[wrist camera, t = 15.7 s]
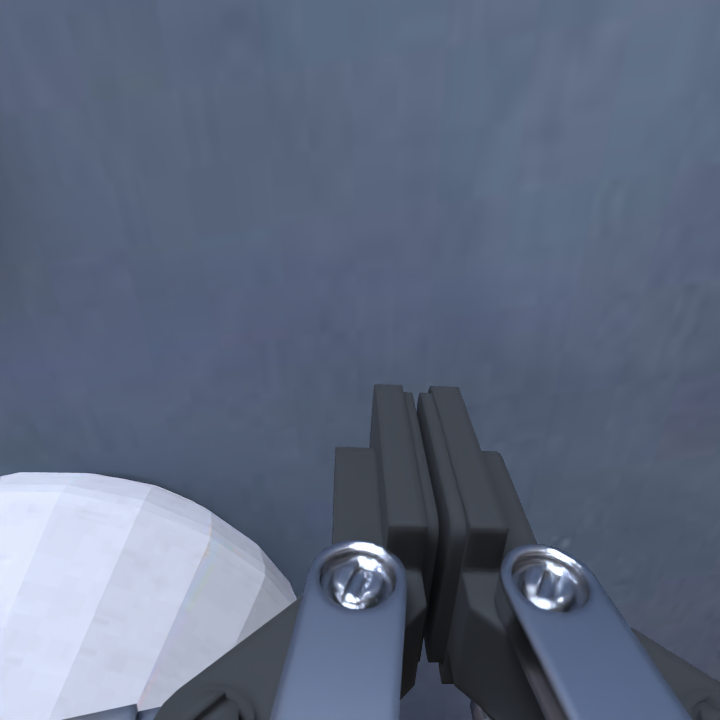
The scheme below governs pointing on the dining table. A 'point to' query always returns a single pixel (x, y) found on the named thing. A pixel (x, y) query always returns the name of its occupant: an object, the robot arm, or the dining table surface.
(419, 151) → the dining table surface
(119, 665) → the coffee pot
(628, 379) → the dining table surface
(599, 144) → the dining table surface
